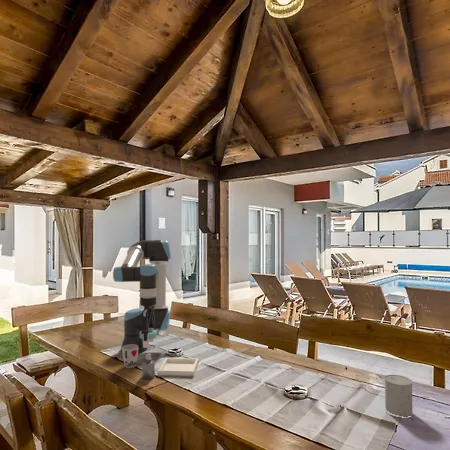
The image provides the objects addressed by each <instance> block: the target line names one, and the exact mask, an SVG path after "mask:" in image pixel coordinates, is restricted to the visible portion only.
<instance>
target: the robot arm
mask: <svg viewBox="0 0 450 450" xmlns="http://www.w3.org/2000/svg"><path fill="white" fill-rule="evenodd" d="M170 247H171V246H170V242H169V241H168V240H164V239H154V240H153V239H151V240H150V239H149V240H145V239H144V240H143V239H142V240H140V241H137V242H134V243H133V244H132V245H131V246H129V248H128V249H127V253H126V257H125V258H124V261H123V263H122V264H121V266H115V267H114V268H113V270H112V271H113V272H112V277H113V278H112V279H113V281H114V282H116V283H120V282H121V283H129V282H130V283H131V282H133V283H136V282H140V286H139V287H140V289H139V290H138V292H140V293H139V294H140V295H139V296H140V303H139V305H140V306H141V307H142V308H141V307H138V308H133V309H130V310H126V312H125V313H124V317H123V318H124V319H123V321H124V322H123V323H124V327H123V328H124V329H123V331H124V332H123V333H124V335H123V336H124V337H123V340H122V343H121V347H120V350H121V352H122V347H123V346H125V345H130V344H135V345H138V354H139V353H142V352H145V351H147V350H148V349H149V348H150V343H154V341H155V340H154V339H155V338H153V339H149V333H148V331H149V330H157V329H158V330H159V332H162V331H163V332H165V331H167V330H168V328H169V326H170V320H171V319H170V318H171V310H169V307H168V306H167V305H166V298H167V296H166V294H167V293H166V292H167V291H166V288H167V286H166V285H167V283H166V281H167V279H166V278H167V264H168V263H169V260H171V258H172V253H171V248H170ZM141 260H148V261H149V264H148V263H146V264H141V265H140V266H138V265H139V262H140V261H141ZM140 332H141V334H143V339H141V338H140Z"/></svg>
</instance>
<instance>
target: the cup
mask: <svg viewBox="0 0 450 450" xmlns="http://www.w3.org/2000/svg"><path fill="white" fill-rule="evenodd" d="M121 353H122V360H123V363H124V367H125V368H127V369H133V368H135V367H136V366H137V362H138V356H139V353H138V345H135V344H130V345H125V346H123V347H122V351H121Z"/></svg>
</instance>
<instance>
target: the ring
mask: <svg viewBox="0 0 450 450" xmlns="http://www.w3.org/2000/svg"><path fill="white" fill-rule="evenodd" d="M148 333H149V339H153V338H154V339H156V338H157V337H158V336H159V335H160V331H159V330H158V329H157V330H149V331H148ZM140 338H141V339H143V334H141V332H140Z"/></svg>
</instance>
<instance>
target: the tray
mask: <svg viewBox="0 0 450 450" xmlns="http://www.w3.org/2000/svg"><path fill="white" fill-rule="evenodd" d="M198 365H199V357H198V358H196V357H195V358H194V357H165V359H164V360H163V362H162V363H161V365H160V367H159V368H158V369H157V376H158V377H184V378H185V377H193V378H194V377H195V375H196V372H197V368H198Z"/></svg>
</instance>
